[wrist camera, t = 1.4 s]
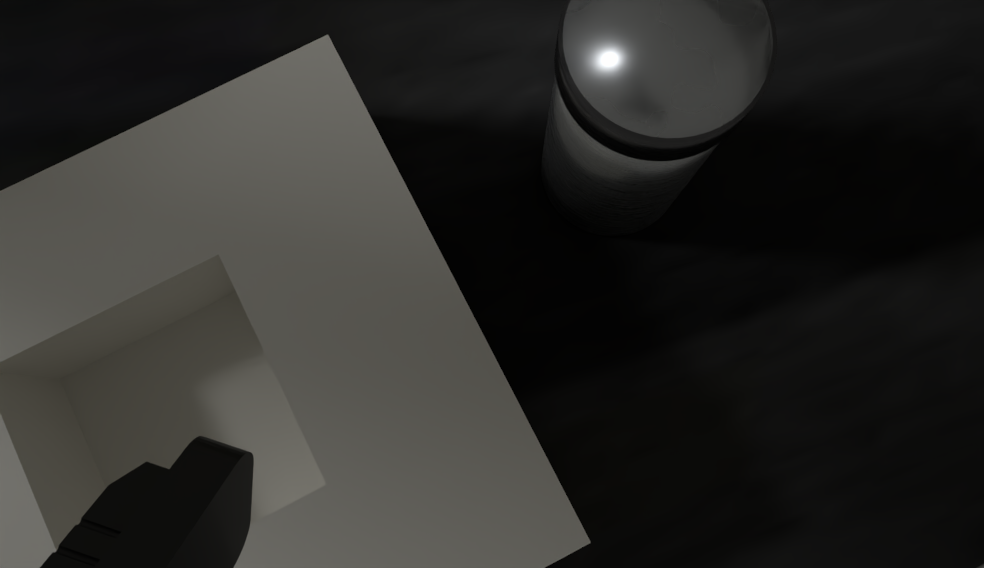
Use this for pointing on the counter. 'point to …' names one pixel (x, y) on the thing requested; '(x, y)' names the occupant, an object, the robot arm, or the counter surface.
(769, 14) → the lens
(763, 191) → the counter surface
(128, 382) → the grey block with recess
